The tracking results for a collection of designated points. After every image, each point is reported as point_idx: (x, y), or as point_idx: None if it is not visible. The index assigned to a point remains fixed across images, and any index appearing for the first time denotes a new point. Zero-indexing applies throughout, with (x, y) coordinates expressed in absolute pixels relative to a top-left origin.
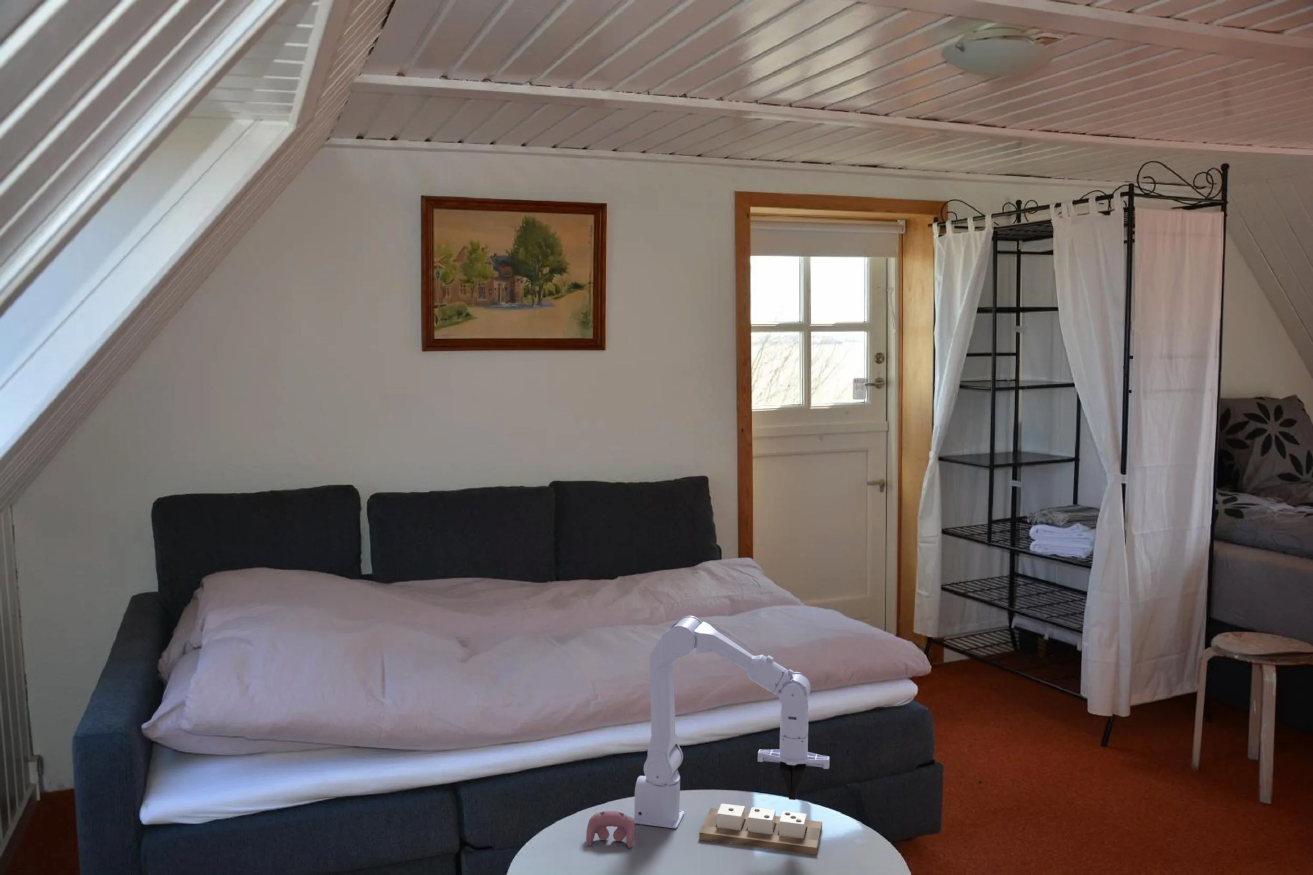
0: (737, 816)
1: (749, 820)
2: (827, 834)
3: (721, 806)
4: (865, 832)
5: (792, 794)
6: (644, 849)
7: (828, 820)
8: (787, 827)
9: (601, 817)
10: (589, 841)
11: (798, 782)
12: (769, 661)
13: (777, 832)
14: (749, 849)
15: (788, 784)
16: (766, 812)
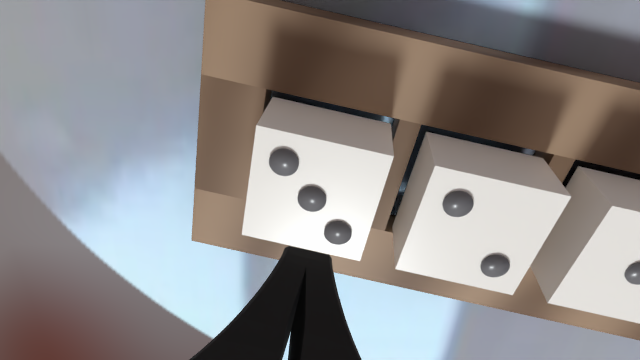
0: (629, 208)
1: (556, 184)
2: (178, 179)
3: None
4: (39, 197)
5: (301, 269)
6: None
7: (181, 276)
8: (349, 131)
9: None
10: None
11: (225, 337)
12: None
13: (395, 146)
14: (558, 23)
15: (327, 334)
16: (448, 245)
